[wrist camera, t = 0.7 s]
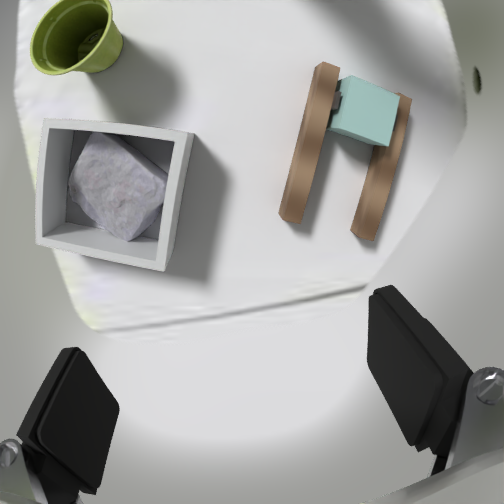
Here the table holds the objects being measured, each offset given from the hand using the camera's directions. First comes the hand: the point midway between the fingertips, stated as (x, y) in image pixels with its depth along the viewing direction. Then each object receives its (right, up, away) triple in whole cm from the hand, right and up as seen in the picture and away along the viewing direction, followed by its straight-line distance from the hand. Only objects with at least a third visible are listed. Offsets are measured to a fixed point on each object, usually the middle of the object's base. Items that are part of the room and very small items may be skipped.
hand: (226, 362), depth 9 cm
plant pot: (-17, +27, +17) cm, 36 cm away
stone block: (-15, +11, +24) cm, 30 cm away
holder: (-15, +11, +23) cm, 30 cm away
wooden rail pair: (+11, +15, +24) cm, 31 cm away
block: (+13, +20, +23) cm, 32 cm away
